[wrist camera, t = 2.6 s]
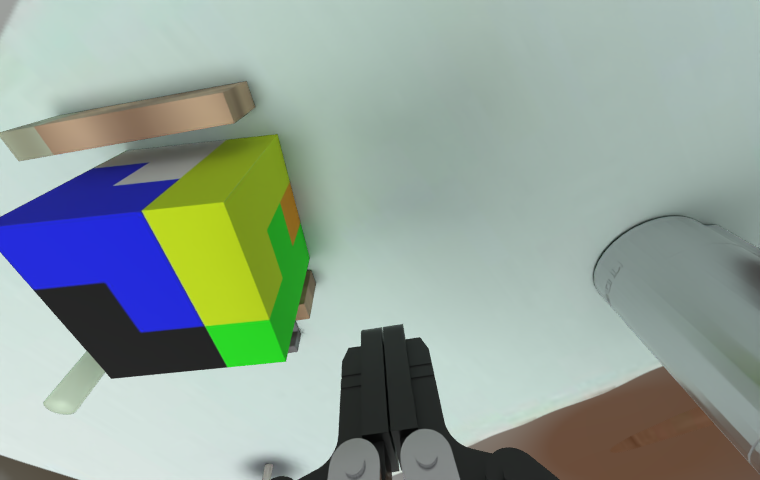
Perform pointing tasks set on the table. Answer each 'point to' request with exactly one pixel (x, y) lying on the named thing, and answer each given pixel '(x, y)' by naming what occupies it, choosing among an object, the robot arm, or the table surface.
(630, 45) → the table surface
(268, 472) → the toy
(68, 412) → the goal post
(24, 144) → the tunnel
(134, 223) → the puzzle toy
